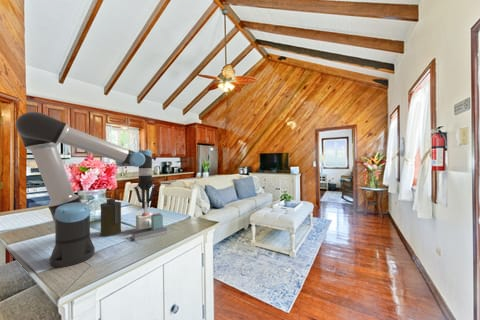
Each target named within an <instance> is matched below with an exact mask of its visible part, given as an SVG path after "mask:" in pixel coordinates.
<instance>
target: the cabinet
mask: <svg viewBox="0 0 480 320" xmlns="http://www.w3.org/2000/svg"><path fill="white" fill-rule="evenodd" d="M148 213H149V216H142V213H139V214H135V230H140V229H144V228H149V227H151V215H152V214H154V213H153V212H148Z"/></svg>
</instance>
